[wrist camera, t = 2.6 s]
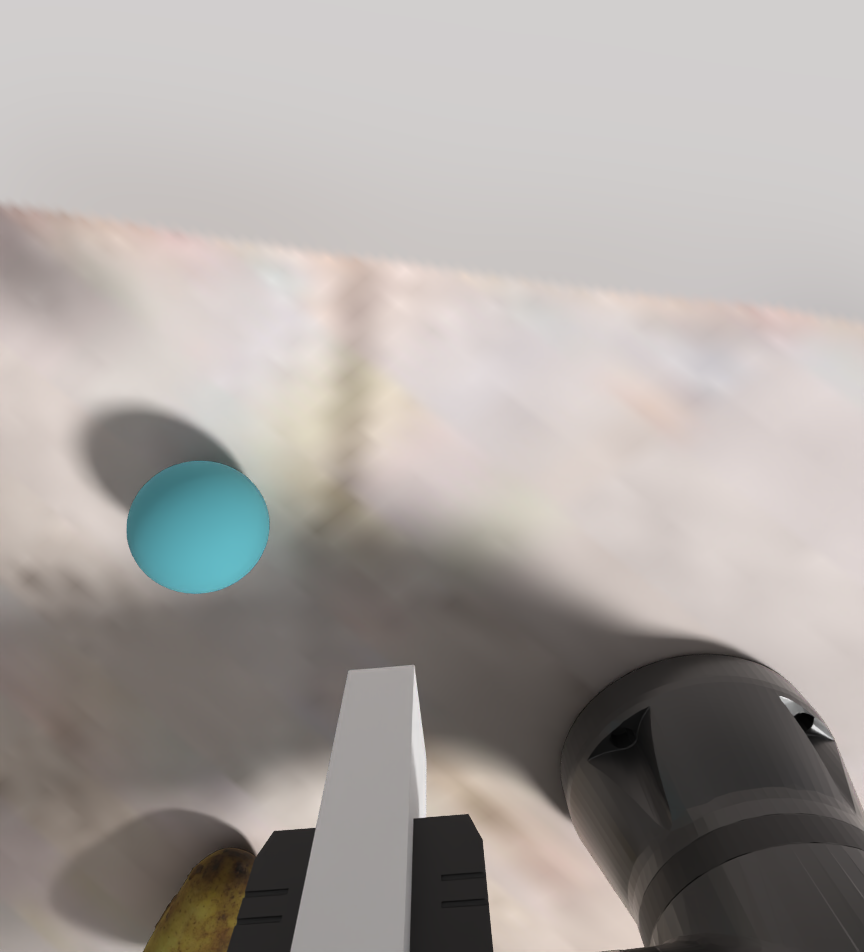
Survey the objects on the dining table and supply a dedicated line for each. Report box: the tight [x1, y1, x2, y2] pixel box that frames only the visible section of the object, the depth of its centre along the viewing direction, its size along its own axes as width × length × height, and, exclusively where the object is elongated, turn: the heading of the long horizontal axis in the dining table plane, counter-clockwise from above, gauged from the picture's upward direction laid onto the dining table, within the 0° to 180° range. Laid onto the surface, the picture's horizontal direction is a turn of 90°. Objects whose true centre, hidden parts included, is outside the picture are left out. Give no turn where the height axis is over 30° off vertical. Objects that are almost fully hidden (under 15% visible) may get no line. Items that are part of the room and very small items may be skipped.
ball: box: [127, 461, 269, 594], centre depth 26 cm, size 6×6×6 cm
